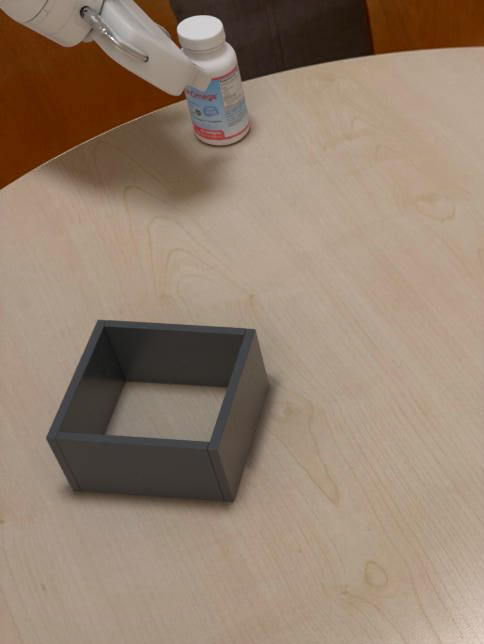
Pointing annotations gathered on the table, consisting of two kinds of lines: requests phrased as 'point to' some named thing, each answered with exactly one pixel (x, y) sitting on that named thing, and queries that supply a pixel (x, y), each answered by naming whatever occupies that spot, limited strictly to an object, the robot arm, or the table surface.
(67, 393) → the open box
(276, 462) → the table surface
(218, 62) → the pill bottle
